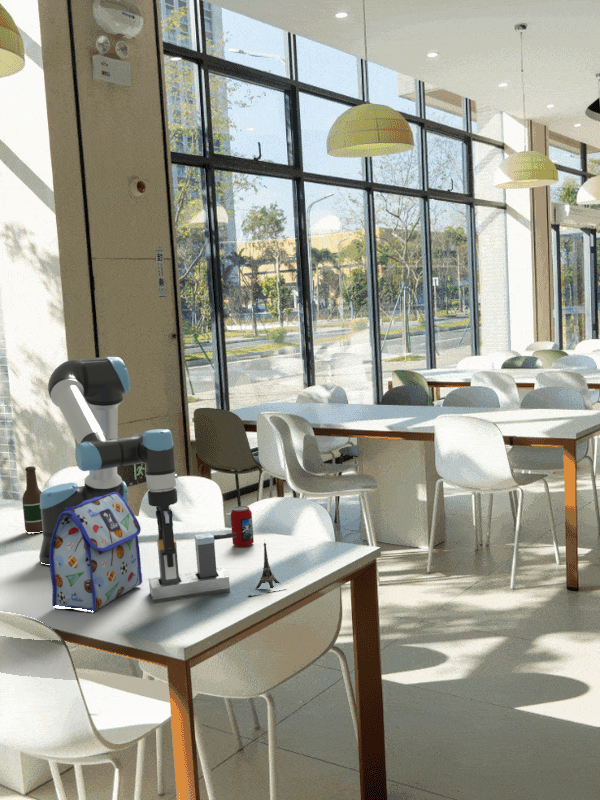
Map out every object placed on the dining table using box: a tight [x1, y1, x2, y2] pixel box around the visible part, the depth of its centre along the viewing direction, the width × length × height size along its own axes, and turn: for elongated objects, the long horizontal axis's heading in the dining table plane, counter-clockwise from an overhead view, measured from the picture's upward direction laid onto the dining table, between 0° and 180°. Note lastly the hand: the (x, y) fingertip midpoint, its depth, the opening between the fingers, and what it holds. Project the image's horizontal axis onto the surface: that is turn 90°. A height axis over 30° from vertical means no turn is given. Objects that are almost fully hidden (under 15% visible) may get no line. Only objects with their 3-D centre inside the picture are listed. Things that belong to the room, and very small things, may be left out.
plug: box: [156, 538, 180, 585], centre depth 217 cm, size 4×4×14 cm
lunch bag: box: [49, 492, 143, 612], centre depth 218 cm, size 23×17×27 cm
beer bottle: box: [22, 466, 43, 532], centre depth 300 cm, size 8×8×24 cm
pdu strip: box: [148, 532, 236, 604], centre depth 219 cm, size 9×24×15 cm, turn 106°
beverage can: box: [230, 505, 254, 548], centre depth 263 cm, size 7×7×12 cm
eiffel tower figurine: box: [255, 539, 280, 589], centre depth 219 cm, size 15×10×13 cm
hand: (169, 573), depth 217 cm, fingers open, 8 cm apart
